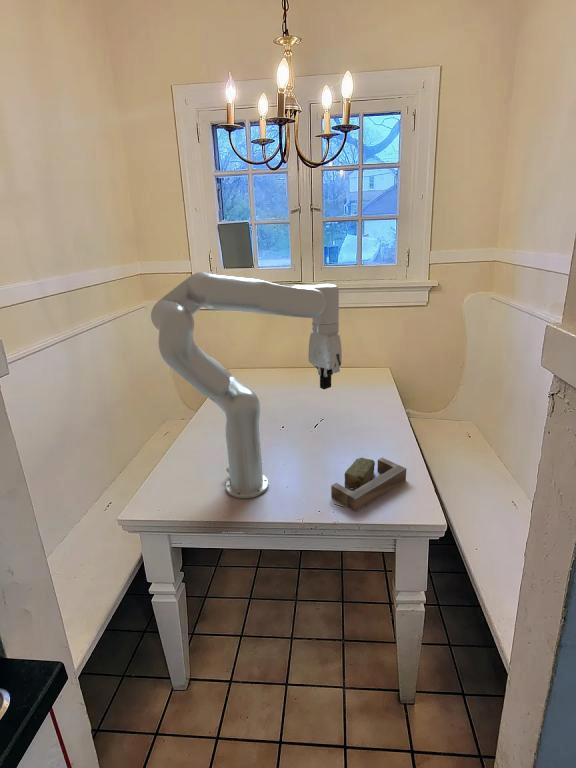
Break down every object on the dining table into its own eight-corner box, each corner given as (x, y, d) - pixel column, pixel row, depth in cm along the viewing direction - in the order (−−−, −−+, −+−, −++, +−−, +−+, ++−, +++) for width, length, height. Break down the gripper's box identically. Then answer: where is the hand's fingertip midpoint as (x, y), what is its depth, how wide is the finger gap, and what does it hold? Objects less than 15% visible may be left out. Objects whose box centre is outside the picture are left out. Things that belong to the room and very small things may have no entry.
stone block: (375, 473, 138) (375, 459, 136) (362, 493, 129) (362, 478, 127) (357, 469, 141) (357, 455, 139) (343, 488, 132) (343, 473, 130)
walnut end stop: (331, 497, 127) (331, 485, 126) (381, 468, 140) (381, 457, 139) (355, 511, 121) (355, 499, 119) (405, 480, 134) (406, 468, 132)
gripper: (298, 326, 134) (300, 384, 140) (334, 334, 123) (333, 397, 129) (317, 322, 138) (318, 378, 144) (353, 330, 127) (352, 391, 133)
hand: (325, 387), depth 137 cm, fingers closed
